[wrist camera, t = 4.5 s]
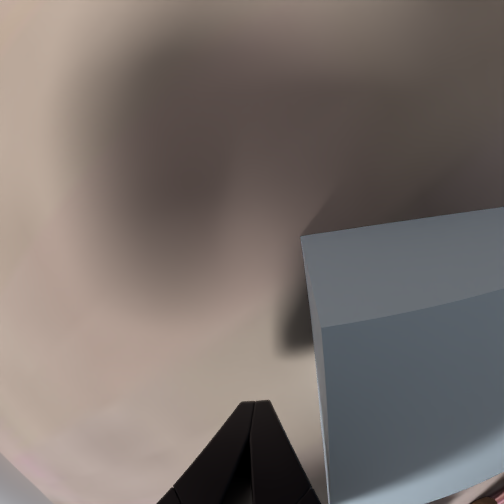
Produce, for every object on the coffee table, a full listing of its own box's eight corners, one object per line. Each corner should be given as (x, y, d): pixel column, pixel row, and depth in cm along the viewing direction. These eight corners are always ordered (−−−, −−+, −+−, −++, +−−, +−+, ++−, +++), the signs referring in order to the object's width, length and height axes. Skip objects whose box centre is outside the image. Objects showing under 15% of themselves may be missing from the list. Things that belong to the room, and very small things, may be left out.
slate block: (518, 364, 9) (569, 431, 5) (320, 419, 10) (329, 525, 6) (547, 199, 7) (640, 237, 3) (299, 233, 8) (321, 327, 4)
